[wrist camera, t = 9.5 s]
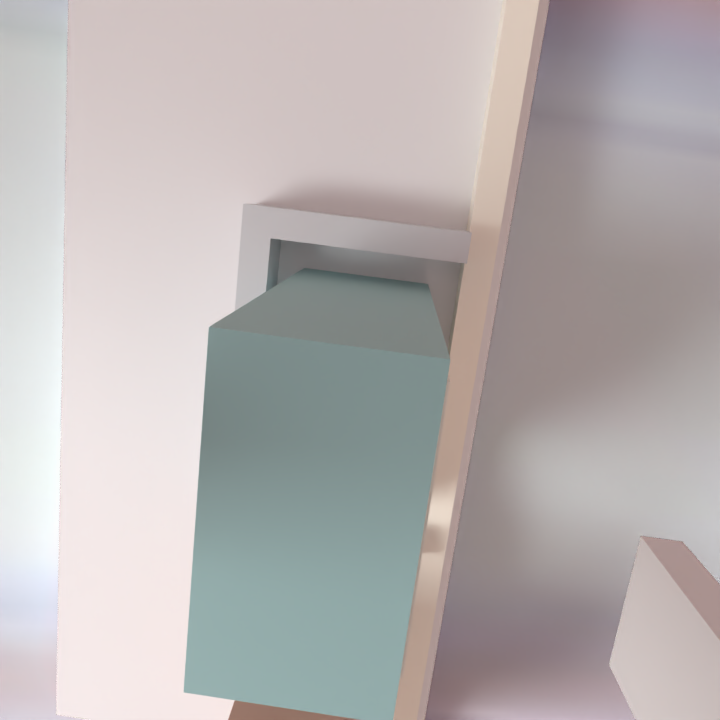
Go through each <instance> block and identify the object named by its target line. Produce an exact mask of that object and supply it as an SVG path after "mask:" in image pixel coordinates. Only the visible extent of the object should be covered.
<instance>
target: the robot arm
mask: <svg viewBox="0 0 720 720" xmlns="http://www.w3.org/2000/svg"><path fill="white" fill-rule="evenodd" d="M609 666H610V668H611V670H612V672H613V674H614V676H615V678H616V680H617V683H618V685H619V687H620V689H621V691H622V693H623V695H624V697H625V699H626V701H627V704H628V706H629V708H630V710H631V712H632V714H633V716H634V718H635V720H720V584H719V583H718V582H717V581H716V580H715V579H714V577H713V576H712V575H711V574H710V573H709V572H708V571H707V569H706V568H705V567H704V566H703V565H702V564H701V562H700V561H699V560H698V559H697V558H696V557H695V556H694V554H693V553H692V552H691V551H690V550H689V549H688V547H687V546H686V545H685V544H684V543H683V542H682V541H675V540H667V539H660V538H652V537H645V536H641V537H640V541H639V545H638V549H637V553H636V557H635V561H634V565H633V569H632V573H631V577H630V581H629V585H628V589H627V593H626V598H625V602H624V606H623V610H622V614H621V618H620V622H619V626H618V630H617V634H616V638H615V642H614V646H613V650H612V654H611V658H610V662H609Z"/></svg>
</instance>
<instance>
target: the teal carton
mask: <svg viewBox="0 0 720 720" xmlns="http://www.w3.org/2000/svg"><path fill="white" fill-rule="evenodd" d="M449 365H450V356H449V353H448V349H447V346H446V343H445V339H444V336H443V333H442V329H441V326H440V323H439V319H438V316H437V313H436V309H435V306H434V303H433V299H432V296H431V293H430V289H429V286H428V284H425V283H417V282H409V281H402V280H394V279H386V278H379V277H371V276H363V275H356V274H348V273H340V272H332V271H325V270H317V269H309V268H303V269H302V270H300V271H299V272H297V273H295V274H294V275H292V276H290V277H289V278H287V279H286V280H284V281H282V282H281V283H279V284H278V285H276V286H274V287H273V288H271V289H269V290H268V291H266V292H265V293H263V294H261V295H260V296H258V297H257V298H255V299H253V300H252V301H250V302H248V303H247V304H245V305H244V306H242V307H240V308H239V309H237V310H235V311H234V312H232V313H231V314H229V315H227V316H226V317H224V318H223V319H221V320H219V321H218V322H216V323H214V324H213V325H211V326H210V327H209V331H208V345H207V360H206V374H205V389H204V403H203V418H202V432H201V446H200V461H199V475H198V490H197V504H196V519H195V533H194V548H193V562H192V576H191V591H190V605H189V620H188V634H187V649H186V663H185V677H184V693H191V694H197V695H203V696H210V697H216V698H223V699H229V700H236V701H242V702H249V703H255V704H262V705H268V706H275V707H281V708H288V709H294V710H301V711H307V712H314V713H320V714H326V715H333V716H339V717H346V718H352V719H359V720H393V717H394V711H395V705H396V698H397V692H398V686H399V680H400V678H403V672H404V665H405V659H406V653H407V647H408V640H409V634H410V628H411V622H412V615H413V609H414V603H415V597H416V590H417V584H418V578H419V572H420V566H421V559H422V553H423V547H424V541H425V534H426V528H427V522H428V516H429V509H430V503H431V497H432V491H433V484H434V478H435V472H436V466H437V459H438V453H439V447H440V441H441V434H442V428H443V422H444V416H445V410H446V403H447V397H448V391H449V385H450V380H449V376H448V372H449Z"/></svg>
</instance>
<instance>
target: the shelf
mask: <svg viewBox="0 0 720 720" xmlns="http://www.w3.org/2000/svg"><path fill="white" fill-rule="evenodd" d="M549 2H550V0H68V42H67V101H66V160H65V218H64V277H63V336H62V394H61V453H60V512H59V570H58V629H57V687H56V715H60V716H67V717H73V718H79V719H86V720H228V718H229V715H230V713H231V710H232V707H233V704H234V701H235V700H229V699H223V698H216V697H210V696H203V695H197V694H191V693H184V677H185V663H186V649H187V634H188V620H189V605H190V591H191V576H192V562H193V548H194V533H195V519H196V504H197V490H198V475H199V461H200V446H201V432H202V418H203V403H204V389H205V374H206V360H207V345H208V331H209V327H210V326H211V325H213V324H214V323H216V322H218V321H219V320H221V319H223V318H224V317H226V316H227V315H229V314H231V313H232V312H234V311H235V310H237V309H239V308H240V307H242V306H244V305H245V304H247V303H248V302H250V301H252V300H253V299H255V298H257V297H258V296H260V295H261V294H263V293H265V292H266V291H268V290H269V289H271V288H273V287H274V286H276V285H278V284H279V283H281V282H282V281H284V280H286V279H287V278H289V277H290V276H292V275H294V274H295V273H297V272H299V271H300V270H302V269H303V268H309V269H317V270H325V271H332V272H340V273H348V274H356V275H363V276H371V277H379V278H386V279H394V280H402V281H409V282H417V283H425V284H428V286H429V289H430V293H431V296H432V299H433V303H434V306H435V309H436V313H437V316H438V319H439V323H440V326H441V329H442V333H443V336H444V339H445V343H446V346H447V349H448V353H449V356H450V365H449V372H448V376H449V380H450V385H449V391H448V397H447V403H446V410H445V416H444V422H443V428H442V434H441V441H440V447H439V453H438V459H437V466H436V472H435V478H434V484H433V491H432V497H431V503H430V509H429V516H428V522H427V528H426V534H425V541H424V547H423V553H422V559H421V566H420V572H419V578H418V584H417V590H416V597H415V603H414V609H413V615H412V622H411V628H410V634H409V640H408V647H407V653H406V659H405V665H404V672H403V678H400V680H399V686H398V692H397V698H396V705H395V711H394V717H393V720H425V715H426V709H427V704H428V698H429V692H430V686H431V681H432V675H433V669H434V663H435V658H436V652H437V646H438V640H439V635H440V629H441V623H442V617H443V612H444V606H445V600H446V594H447V589H448V583H449V577H450V571H451V566H452V560H453V554H454V548H455V543H456V537H457V531H458V525H459V520H460V514H461V508H462V502H463V497H464V491H465V485H466V479H467V474H468V468H469V462H470V456H471V451H472V445H473V439H474V433H475V428H476V422H477V416H478V410H479V405H480V399H481V393H482V387H483V382H484V376H485V370H486V364H487V359H488V353H489V347H490V341H491V335H492V330H493V324H494V318H495V312H496V307H497V301H498V295H499V289H500V284H501V278H502V272H503V266H504V261H505V255H506V249H507V243H508V238H509V232H510V226H511V220H512V215H513V209H514V203H515V197H516V192H517V186H518V180H519V174H520V169H521V163H522V157H523V151H524V146H525V140H526V134H527V128H528V123H529V117H530V111H531V105H532V100H533V94H534V88H535V82H536V77H537V71H538V65H539V59H540V54H541V48H542V42H543V36H544V31H545V25H546V19H547V13H548V8H549Z"/></svg>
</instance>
